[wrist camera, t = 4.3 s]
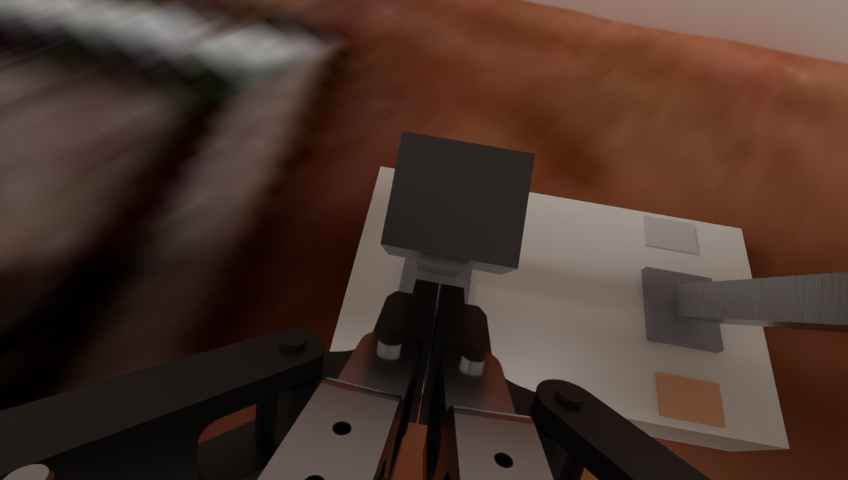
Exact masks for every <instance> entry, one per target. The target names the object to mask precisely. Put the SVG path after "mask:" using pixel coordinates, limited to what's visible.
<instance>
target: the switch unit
mask: <svg viewBox="0 0 848 480" xmlns="http://www.w3.org/2000/svg"><path fill="white" fill-rule="evenodd" d="M394 172H395V169H393V168H387V167H380V171H379V174H378V178H377V182H376V185H375V189H374V192H373V196H372V200H371V203H370V207H369V211H368V214H367V218H366V221H365V225H364V229H363V232H362V236H361V239H360V243H359V247H358V250H357V254H356V258H355V261H354V265H353V268H352V272H351V276H350V279H349V283H348V286H347V290H346V294H345V297H344V301H343V305H342V308H341V312H340V315H339V319H338V323H337V326H336V330H335V333H334V337H333V341H332V344H331V348H330V351H349V350H353V349H355V348H356V347H357V345H358V343H359V342H360V340H361V339H362V337H363V336H365V335H366V334H368V333H370V332H373V330H374V327H375V325H376V322H377V320H378V317H379V315H380V313H381V310H382V307H383V305H384V302H385V300H386V297H387V296H389V295H390V294H392V293H394V292H395V291H400V292H406V293H411V294H412V293H413V289H414V285H415V281H416V279H420V280H425V281H431V282H436V283H439V288H438V296H439V290H440V286H441V283H442V284H447V285H453V286H458V287H463V288H464V298H465V304H470V305H476V306H479V307H480V308H481V309H482V310H483V312H484V313H485V314H486V315H487V322H488V329H489V337H490V344H491V351H492V355H493V356H495V357H496V358H497V359H498V360H499V362H500V363H501V366H502V369H503V373H504V376H505V378H506V379H508V380H509V381H511V382H513V383H514V384H517V385H519V386H521V387H524V388H526V389H529V390H531V391H534V392H536V388H537V386H538V384H539V383H540V382H542V381H544V380H548V379H558V380H564V381H568V382H571V383H573V384H576V385H578V386H580V387H582V388H584V389H585V390H587V391H588V392H590V393H591V394H592V395H594V396H595V397H597V398H598V399H599V400H601V401H602V402H604V403H605V404H606V405H608V406H609V407H611V408H612V409H613V410H615V411H616V412H617V413H619V414H620V415H622V416H623V417H624V418H626V419H627V420H629V421H630V422H631V423H633V424H634V425H635V426H637V427H638V428H640V429H641V430H642V431H644V432H645V433H647V434H648V435H649V436H651V437H655V438H660V439H665V440H671V441H676V442H681V443H687V444H692V445H697V446H703V447H708V448H713V449H718V450H724V451H729V452H733V451H756V450H780V449H789V444H788V440H787V435H786V431H785V426H784V422H783V417H782V412H781V408H780V403H779V399H778V394H777V389H776V385H775V380H774V376H773V371H772V367H771V362H770V357H769V353H768V348H767V344H766V339H765V335H764V330H763V327H762V326H748V325H734V324H720V323H711V322H705V321H700V320H694V319H688V318H683V317H677V316H674V306H675V295H676V285H677V284H686V283H700V282H714V281H727V280H741V279H752V275H751V271H750V266H749V261H748V257H747V252H746V248H745V243H744V239H743V234H742V229H740V228H734V227H728V226H722V225H717V224H711V223H705V222H699V221H693V220H688V219H682V218H676V217H670V216H664V215H659V214H653V213H647V212H641V211H636V210H630V209H624V208H618V207H612V206H607V205H601V204H595V203H589V202H583V201H578V200H572V199H566V198H560V197H555V196H549V195H543V194H537V193H531V192H529V198H528V204H527V211H526V218H525V225H524V231H523V238H522V245H521V252H520V259H519V265H518V269H516V270H513V271H511V272H508V273H505V274H503V275H499V274H494V273H488V272H482V271H477V270H471V269H465V270H464V271H463V272H462V273H461V274H459V275H458V276H457V277H455V276H449V275H444V274H438V273H433V272H427V271H422V270H418V268H417V264H416V260H415V259H410V258H404V257H399V256H393V255H388V254H387V252H386V251H385V250H384V248H383V247H382V246H381V245H380V243H381V238H382V233H383V228H384V223H385V218H386V213H387V208H388V202H389V197H390V192H391V187H392V182H393V177H394ZM438 296H437V301H438ZM436 306H437V304H436ZM424 380H425V379H424ZM423 388H424V385H423ZM422 394H423V390H422Z"/></svg>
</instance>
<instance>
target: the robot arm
mask: <svg viewBox="0 0 848 480" xmlns="http://www.w3.org/2000/svg"><path fill="white" fill-rule="evenodd" d="M438 288H439V283H436V282H431V281H425V280H420V279H416V281H415V285H414V289H413V293H412V294H411V293H406V292H400V291H395V292H394V293H392V294H390V295H389V296H387V297H386V300H385V302H384V305H383V307H382V310H381V313H380V315H379V317H378V320H377V322H376V325H375V327H374V330H373V332H370V333H368V334H366V335H365V336H363V337H362V339H361V340H360V342H359V343H358V345H357V347H356V348H355V349H353V350H349V351H324V350H325V344H324V341H323V340H322V338H320V337H319V336H318V335H316V334H314V333H312V332H309V331H306V330H300V329H284V330H279V331H275V332H271V333H268V334H265V335H261V336H258V337H254V338H251V339H247V340H244V341H240V342H237V343H233V344H230V345H226V346H223V347H220V348H216V349H213V350H209V351H206V352H202V353H199V354H195V355H192V356H188V357H185V358H182V359H178V360H175V361H171V362H168V363H164V364H161V365H157V366H154V367H150V368H147V369H144V370H140V371H137V372H133V373H130V374H126V375H123V376H119V377H116V378H112V379H109V380H105V381H102V382H99V383H95V384H92V385H88V386H85V387H81V388H78V389H74V390H71V391H67V392H64V393H61V394H57V395H54V396H50V397H47V398H43V399H40V400H36V401H33V402H29V403H26V404H23V405H19V406H16V407H12V408H9V409H5V410H2V411H0V480H392V479H393V475H394V472H395V468H396V464H397V461H398V457H399V454H400V450H401V446H402V440H403V437H404V436H405V434H406V432H407V429H408V424H409V422H412V423H416V421H417V416H418V410H419V405H420V400H421V395H422V390H423V395H422V403H421V410H420V418H419V424H423V425H428V428H427V435H426V440H425V445H424V450H423V480H580V479H581V476H582V473H583V471H584V468H586V469H587V470H588V471H590V472H591V473H592V474H593V475H594V476H595V477H596V478H597V479H599V480H710V479H709V478H708V477H706V476H705V475H703V474H702V473H701V472H699V471H698V470H696V469H695V468H694V467H692V466H691V465H690V464H688V463H687V462H685V461H684V460H683V459H681V458H680V457H678V456H677V455H676V454H674V453H673V452H671V451H670V450H669V449H667V448H666V447H665V446H663V445H662V444H660V443H659V442H658V441H656V440H655V439H653V438H652V437H651V436H649V435H648V434H647V433H645V432H644V431H642V430H641V429H640V428H638V427H637V426H635V425H634V424H633V423H631V422H630V421H629V420H627V419H626V418H624V417H623V416H622V415H620V414H619V413H617V412H616V411H615V410H613V409H612V408H611V407H609V406H608V405H606V404H605V403H604V402H602V401H601V400H599V399H598V398H597V397H595V396H594V395H592V394H591V393H590V392H588V391H587V390H585V389H584V388H582V387H580V386H578V385H576V384H573V383H571V382H568V381H564V380H558V379H548V380H544V381H542V382H540V383H539V384H538V386H537V388H536V392H534V391H531V390H529V389H526V388H524V387H521V386H519V385H517V384H514V383H513V382H511V381H509V380H508V379H506V378H505V376H504V373H503V369H502V366H501V363H500V362H499V360H498V359H497V358H496V357H495V356H493V355H492V351H491V344H490V337H489V329H488V322H487V315H486V314H485V313H484V312H483V310H482V309H481V308H480V307H479V306H476V305H470V304H465V298H464V288H463V287H458V286H453V285H447V284H442V283H441V286H440V290H439V296H438ZM437 296H438V301H437ZM436 304H437V306H436ZM424 379H425V380H424ZM423 385H424V388H423ZM253 404H256V417H255V420H253V421H250V422H248V423H246V424H243V425H241V426H239V427H237V428H234V429H232V430H230V431H227V432H225V433H223V434H221V435H218V436H216V437H214V438H211V439H209V440H207V441H205V442H202V443H200V444H198V439H199V437H200V435H201V433H202V432H203V430H204V429H205V428H206V427H207V426H208V425H209V424H211V423H212V422H214V421H215V420H217V419H219V418H222V417H224V416H227V415H229V414H231V413H234V412H236V411H239V410H241V409H244V408H246V407H249V406H251V405H253Z"/></svg>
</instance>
